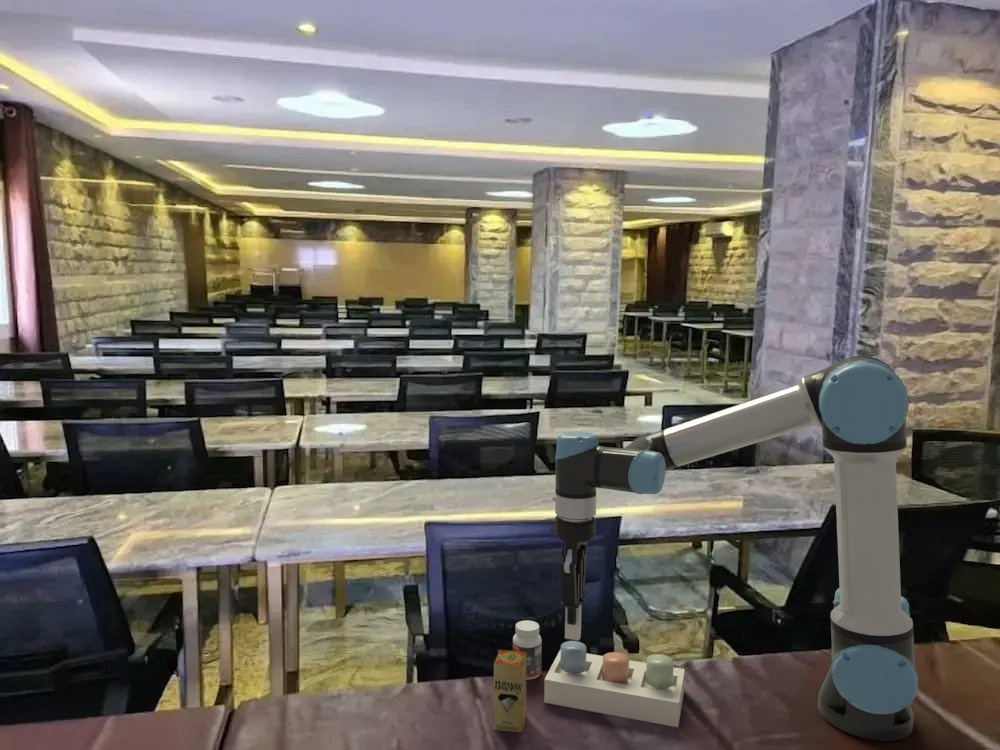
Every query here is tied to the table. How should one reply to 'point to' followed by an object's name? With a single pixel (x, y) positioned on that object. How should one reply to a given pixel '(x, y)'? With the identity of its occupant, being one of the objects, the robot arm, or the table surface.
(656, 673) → the button sage
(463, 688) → the table surface
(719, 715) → the table surface
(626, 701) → the panel
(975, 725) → the table surface
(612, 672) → the button terracotta
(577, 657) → the button slateblue
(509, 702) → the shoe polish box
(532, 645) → the pill bottle
